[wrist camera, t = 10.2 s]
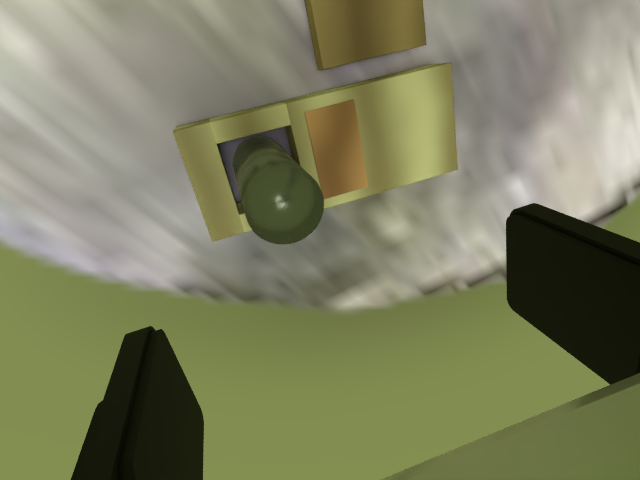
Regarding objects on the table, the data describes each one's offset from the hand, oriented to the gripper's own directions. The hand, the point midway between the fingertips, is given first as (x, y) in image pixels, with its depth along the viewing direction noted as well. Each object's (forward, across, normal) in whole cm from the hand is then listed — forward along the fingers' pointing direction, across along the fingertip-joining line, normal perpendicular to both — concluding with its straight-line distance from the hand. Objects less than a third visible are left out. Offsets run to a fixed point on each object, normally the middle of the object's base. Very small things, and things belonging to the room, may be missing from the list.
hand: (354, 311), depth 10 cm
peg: (+22, 0, 0) cm, 22 cm away
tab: (+22, -10, -9) cm, 26 cm away
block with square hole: (+22, -5, 0) cm, 23 cm away
